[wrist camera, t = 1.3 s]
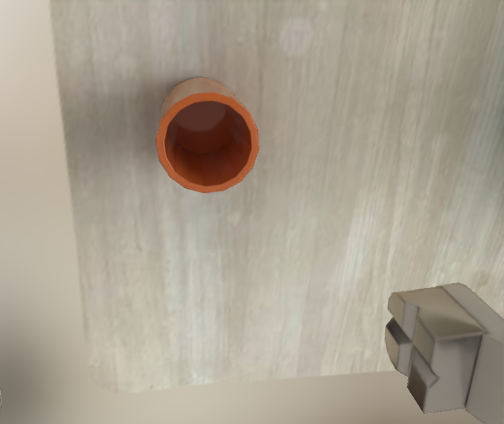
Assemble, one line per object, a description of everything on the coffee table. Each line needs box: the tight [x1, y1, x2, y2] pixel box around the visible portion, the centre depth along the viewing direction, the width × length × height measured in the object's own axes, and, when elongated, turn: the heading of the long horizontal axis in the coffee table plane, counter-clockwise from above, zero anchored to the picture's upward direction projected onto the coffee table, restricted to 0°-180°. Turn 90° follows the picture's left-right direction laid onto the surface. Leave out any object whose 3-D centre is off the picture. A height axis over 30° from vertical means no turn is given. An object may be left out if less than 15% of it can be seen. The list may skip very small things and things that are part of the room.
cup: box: [156, 77, 259, 193], centre depth 25 cm, size 5×5×7 cm
